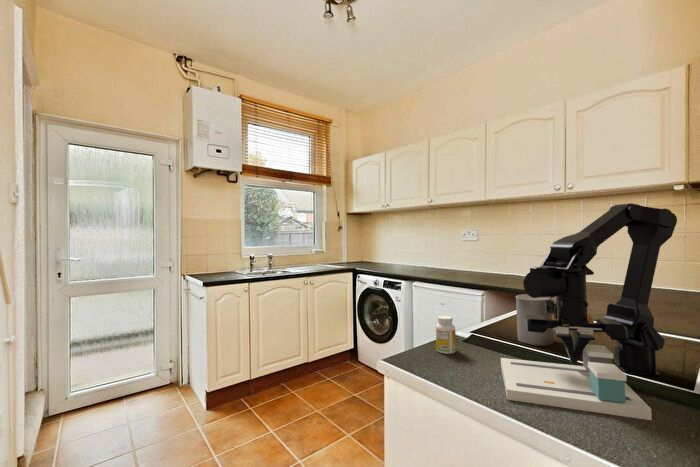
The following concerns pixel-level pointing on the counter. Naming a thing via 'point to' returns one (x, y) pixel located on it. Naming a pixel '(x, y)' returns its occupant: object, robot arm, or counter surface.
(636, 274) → the robot arm
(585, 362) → the grey and white slider
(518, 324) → the pillar candle
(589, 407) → the slotted slider plate
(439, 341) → the supplement bottle
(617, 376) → the teal knob
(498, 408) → the counter surface
